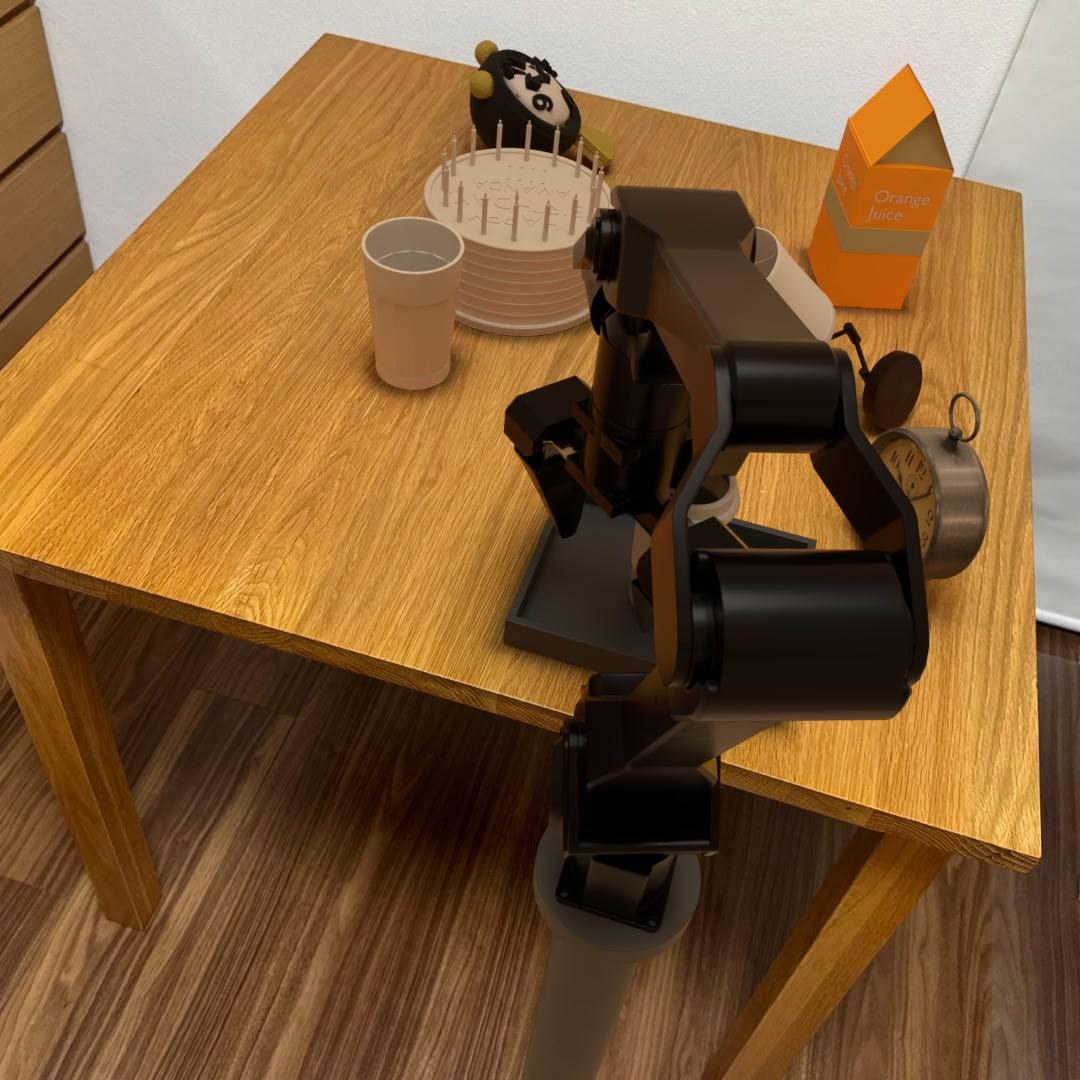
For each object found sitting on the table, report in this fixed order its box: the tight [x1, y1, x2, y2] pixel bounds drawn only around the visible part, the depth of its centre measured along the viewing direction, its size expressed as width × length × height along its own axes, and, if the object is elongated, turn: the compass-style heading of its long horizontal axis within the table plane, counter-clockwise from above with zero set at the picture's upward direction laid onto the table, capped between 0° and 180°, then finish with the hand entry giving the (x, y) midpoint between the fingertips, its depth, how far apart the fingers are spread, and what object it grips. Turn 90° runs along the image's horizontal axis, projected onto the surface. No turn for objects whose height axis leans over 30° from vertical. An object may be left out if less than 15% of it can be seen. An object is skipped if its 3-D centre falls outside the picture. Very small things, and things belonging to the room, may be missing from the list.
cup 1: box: [360, 216, 464, 391], centre depth 92 cm, size 8×8×12 cm
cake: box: [422, 120, 614, 337], centre depth 102 cm, size 18×18×13 cm
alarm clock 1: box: [468, 39, 614, 170], centre depth 118 cm, size 12×15×15 cm
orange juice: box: [807, 62, 956, 310], centre depth 104 cm, size 8×9×20 cm
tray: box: [502, 493, 818, 725], centre depth 80 cm, size 15×19×3 cm
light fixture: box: [754, 226, 924, 430], centre depth 96 cm, size 10×16×17 cm
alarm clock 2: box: [871, 391, 990, 581], centre depth 79 cm, size 11×5×16 cm, turn 10°
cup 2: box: [629, 474, 741, 608], centre depth 76 cm, size 7×7×12 cm
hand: (606, 580), depth 74 cm, fingers open, 9 cm apart
